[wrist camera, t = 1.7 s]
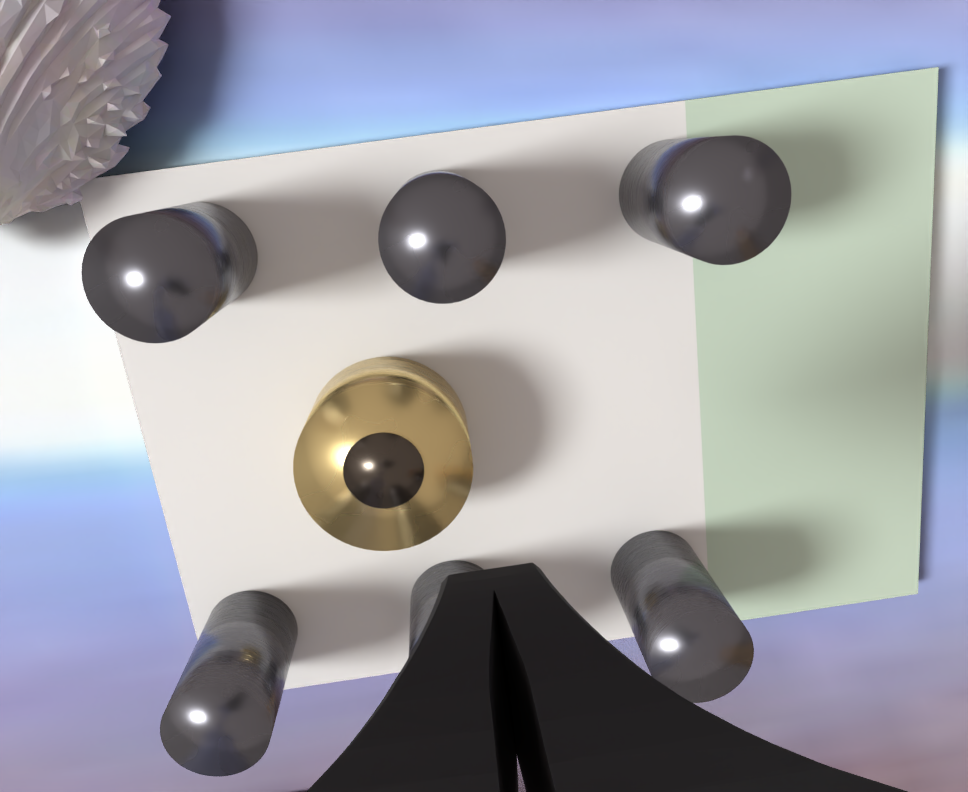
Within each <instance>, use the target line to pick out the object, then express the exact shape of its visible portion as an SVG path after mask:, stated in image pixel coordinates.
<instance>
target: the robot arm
mask: <svg viewBox="0 0 968 792" xmlns="http://www.w3.org/2000/svg"><path fill="white" fill-rule="evenodd" d="M517 757H518V761H519V765H520V769H521V773H522V777H523V781H524V784H525V788H526V792H907V791H904V790H901V789H898V788H895V787H892V786H888V785H885V784H882V783H879V782H876V781H873V780H870V779H867V778H863V777H860V776H857V775H854V774H851V773H848V772H845V771H841V770H838V769H835V768H832V767H829V766H827V765H824V764H821V763H818V762H816V761H814V760H811V759H809V758H806V757H804V756H801V755H799V754H796V753H794V752H791V751H789V750H787V749H784V748H782V747H779V746H777V745H774V744H772V743H770V742H768V741H766V740H763V739H761V738H759V737H757V736H755V735H752V734H750V733H748V732H746V731H744V730H742V729H740V728H738V727H736V726H734V725H732V724H730V723H728V722H727V721H725V720H723V719H721V718H719V717H717V716H715V715H713V714H711V713H709V712H708V711H706V710H704V709H702V708H700V707H699V706H697V705H695V704H693V703H692V702H690V701H688V700H687V699H685V698H683V697H682V696H680V695H678V694H677V693H675V692H674V691H672V690H671V689H669V688H668V687H666V686H665V685H663V684H662V683H660V682H659V681H657V680H656V679H654V678H653V677H652V676H650V675H649V674H648V673H646V672H645V671H644V670H642V669H641V668H640V667H638V666H637V665H636V664H635V663H633V662H632V661H631V660H630V659H629V658H627V657H626V656H625V655H624V654H622V653H621V652H620V651H619V650H618V649H616V648H615V647H614V646H613V645H612V644H611V643H610V642H608V641H607V640H606V639H605V638H604V637H603V636H602V635H601V634H600V633H599V632H597V631H596V630H595V629H594V628H593V627H592V626H591V625H590V624H589V623H588V622H587V621H586V620H585V619H584V618H583V617H582V616H581V615H580V614H579V613H578V612H577V611H576V610H575V609H574V608H573V607H572V606H571V605H570V604H569V603H568V602H567V600H566V599H565V598H564V597H563V596H562V595H561V594H560V593H559V592H558V590H557V589H556V588H555V587H554V586H553V584H552V583H551V582H550V581H549V579H548V578H547V577H546V576H545V574H544V573H543V571H542V570H541V569H540V568H539V567H538V566H536V565H535V564H534V563H533V562H532V563H525V564H519V565H512V566H505V567H498V568H492V569H485V570H478V571H471V572H465V573H458V574H451V575H448V576H447V577H446V578H445V580H444V581H443V582H442V583H441V587H440V591H439V594H438V596H437V599H436V602H435V604H434V607H433V609H432V611H431V614H430V616H429V618H428V620H427V623H426V625H425V627H424V629H423V631H422V633H421V635H420V637H419V639H418V641H417V642H416V644H415V646H414V648H413V650H412V652H411V654H410V656H409V658H408V660H407V661H406V663H405V665H404V666H403V668H402V670H401V671H400V673H399V675H398V676H397V678H396V679H395V681H394V683H393V684H392V686H391V687H390V689H389V691H388V692H387V694H386V696H385V697H384V699H383V700H382V702H381V703H380V705H379V706H378V707H377V709H376V710H375V712H374V713H373V715H372V716H371V717H370V719H369V720H368V721H367V723H366V724H365V725H364V727H363V728H362V729H361V731H360V732H359V733H358V734H357V736H356V737H355V738H354V740H353V741H352V742H351V743H350V745H349V746H348V747H347V748H346V750H345V751H344V752H343V753H342V754H341V755H340V756H339V758H338V759H337V760H336V761H335V762H334V763H333V764H332V765H331V766H330V768H329V769H328V770H327V771H326V772H325V773H324V774H323V775H322V776H321V777H320V778H319V779H318V780H317V781H316V782H315V783H314V784H313V786H312V787H311V788H310V789H309V790H308V791H307V792H518V774H517Z"/></svg>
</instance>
